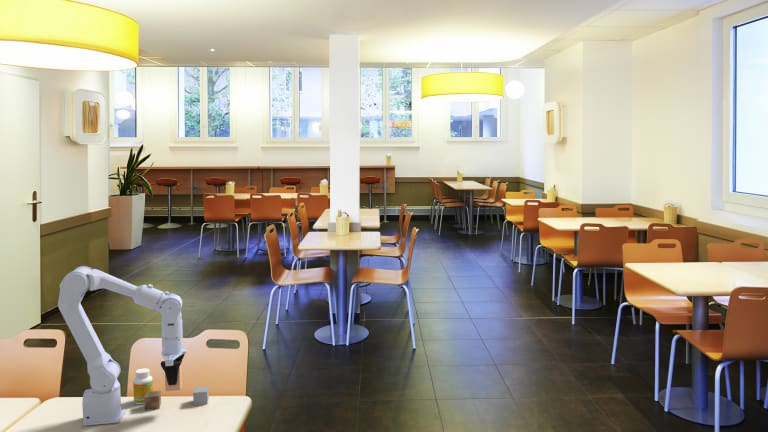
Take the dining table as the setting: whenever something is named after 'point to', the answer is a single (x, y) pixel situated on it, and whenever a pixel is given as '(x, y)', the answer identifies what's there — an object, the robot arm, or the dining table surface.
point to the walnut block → (152, 400)
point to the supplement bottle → (142, 385)
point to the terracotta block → (178, 384)
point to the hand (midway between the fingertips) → (173, 381)
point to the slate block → (200, 396)
